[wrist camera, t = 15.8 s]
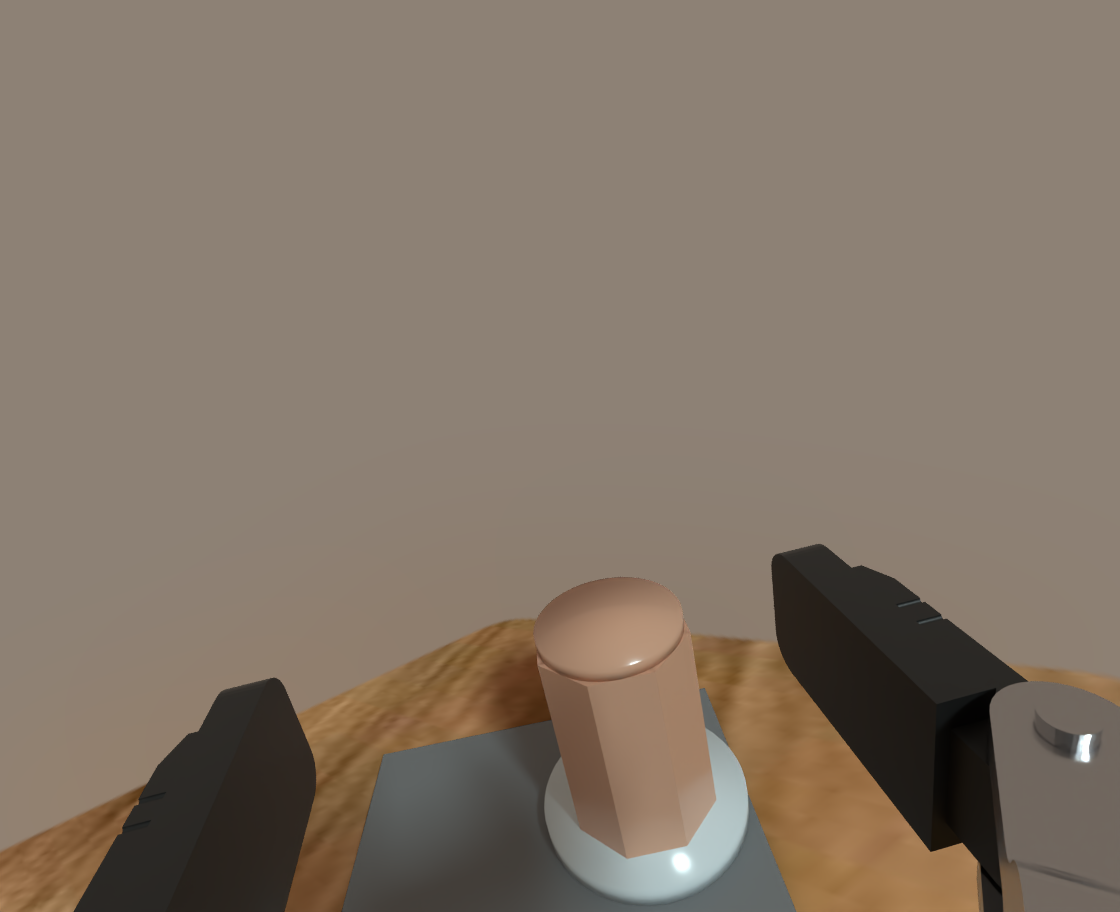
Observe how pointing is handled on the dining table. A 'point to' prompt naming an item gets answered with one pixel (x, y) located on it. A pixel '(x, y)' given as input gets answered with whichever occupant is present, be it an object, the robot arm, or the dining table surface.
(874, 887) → the dining table surface
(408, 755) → the rubber mat
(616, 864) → the saucer
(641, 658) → the domed octagonal post
